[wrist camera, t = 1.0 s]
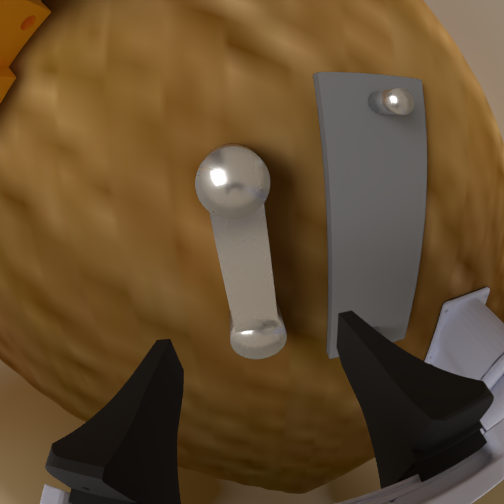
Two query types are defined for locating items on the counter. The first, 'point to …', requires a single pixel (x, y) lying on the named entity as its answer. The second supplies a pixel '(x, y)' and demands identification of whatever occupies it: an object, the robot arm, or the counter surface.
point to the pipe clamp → (16, 33)
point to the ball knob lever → (243, 246)
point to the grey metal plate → (372, 196)
